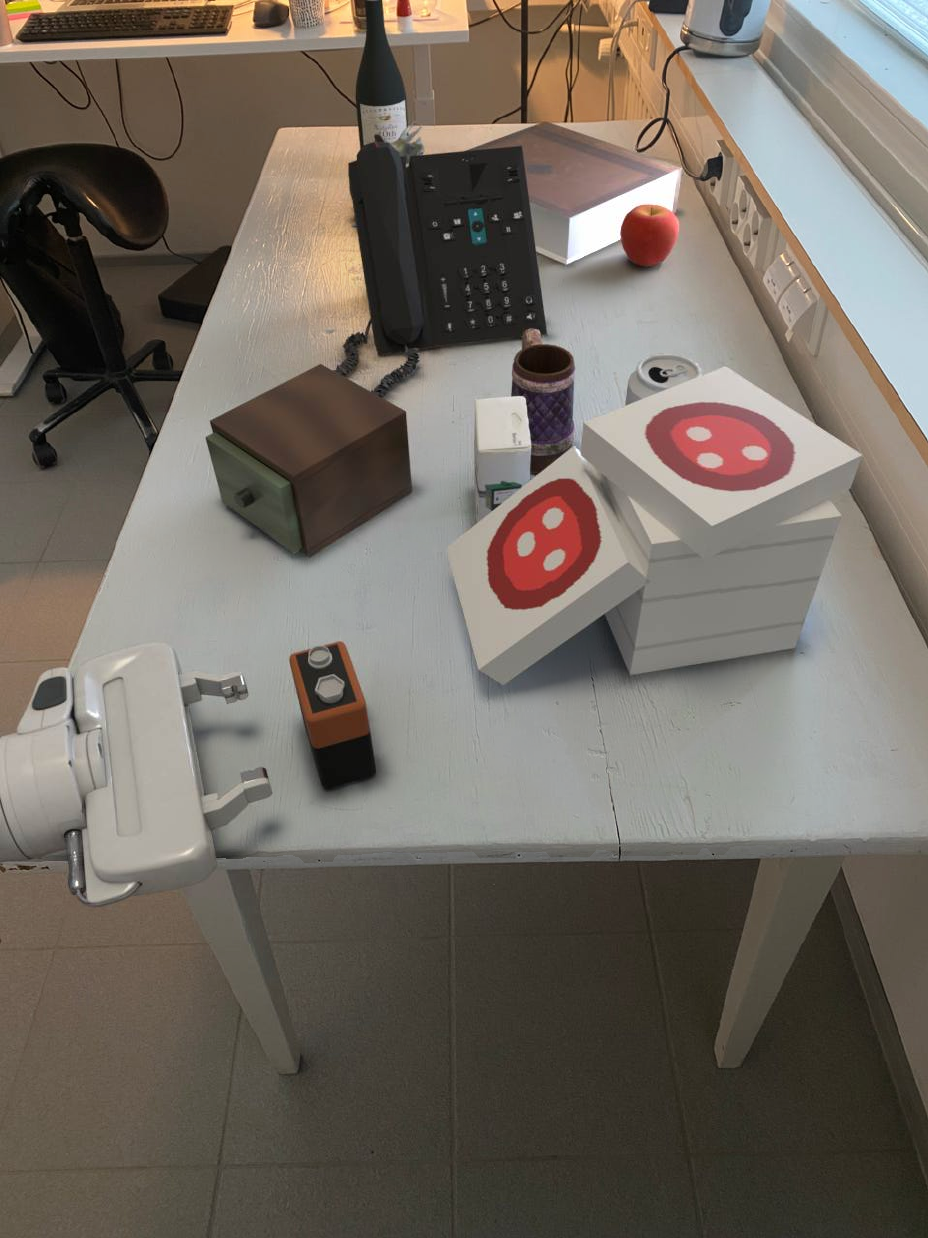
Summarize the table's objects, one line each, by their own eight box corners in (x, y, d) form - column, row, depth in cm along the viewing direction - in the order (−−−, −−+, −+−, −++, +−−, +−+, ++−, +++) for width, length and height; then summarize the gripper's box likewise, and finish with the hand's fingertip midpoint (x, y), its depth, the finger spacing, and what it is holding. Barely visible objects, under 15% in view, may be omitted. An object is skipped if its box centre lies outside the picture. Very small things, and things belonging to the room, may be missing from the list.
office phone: (324, 417, 106) (298, 242, 91) (302, 299, 125) (278, 140, 111) (572, 383, 110) (585, 211, 95) (514, 274, 129) (517, 117, 114)
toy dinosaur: (361, 254, 134) (353, 173, 126) (311, 243, 137) (300, 164, 129) (430, 196, 148) (427, 120, 140) (384, 188, 150) (378, 113, 142)
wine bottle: (413, 179, 153) (401, -41, 131) (365, 184, 152) (345, -37, 130) (406, 161, 158) (393, -53, 137) (360, 165, 157) (339, -50, 136)
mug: (578, 472, 98) (587, 371, 89) (512, 478, 97) (514, 377, 89) (559, 417, 105) (565, 318, 96) (497, 423, 104) (497, 324, 96)
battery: (323, 794, 71) (304, 713, 64) (304, 726, 76) (284, 644, 68) (378, 777, 72) (366, 696, 65) (356, 712, 76) (342, 629, 69)
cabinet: (309, 558, 90) (293, 476, 82) (230, 500, 96) (209, 420, 89) (412, 491, 96) (406, 411, 89) (332, 442, 103) (320, 363, 95)
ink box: (473, 493, 96) (472, 394, 87) (522, 491, 96) (525, 392, 87) (477, 549, 90) (476, 448, 81) (529, 547, 90) (533, 446, 81)
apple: (681, 271, 129) (689, 215, 123) (625, 276, 128) (631, 219, 122) (665, 247, 134) (672, 191, 128) (611, 251, 133) (616, 196, 128)
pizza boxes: (444, 565, 88) (435, 402, 75) (742, 521, 92) (783, 358, 79) (485, 723, 75) (483, 559, 62) (831, 664, 79) (898, 497, 66)
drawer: (283, 560, 88) (269, 494, 82) (212, 507, 94) (194, 442, 88) (390, 492, 95) (384, 427, 89) (317, 447, 100) (307, 383, 95)
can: (610, 450, 100) (622, 350, 92) (678, 444, 101) (696, 345, 92) (626, 493, 95) (640, 392, 87) (698, 487, 96) (719, 386, 87)
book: (543, 162, 156) (545, 120, 152) (676, 212, 142) (682, 167, 137) (434, 206, 145) (433, 162, 141) (566, 264, 131) (569, 217, 126)
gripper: (53, 891, 56) (278, 823, 59) (42, 654, 70) (226, 608, 73) (86, 937, 61) (293, 872, 64) (70, 707, 74) (242, 661, 77)
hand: (257, 730), depth 68 cm, fingers open, 8 cm apart
